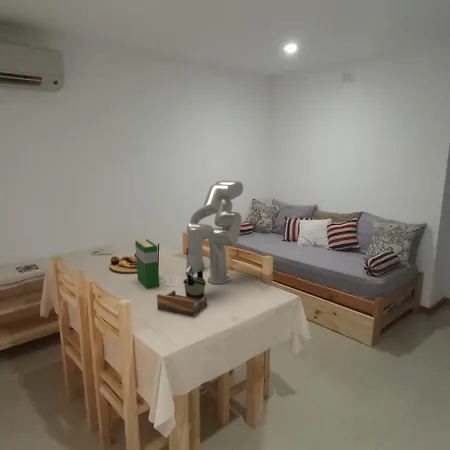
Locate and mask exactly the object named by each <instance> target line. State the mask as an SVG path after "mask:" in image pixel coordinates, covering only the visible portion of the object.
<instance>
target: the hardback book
mask: <svg viewBox="0 0 450 450" xmlns="http://www.w3.org/2000/svg"><path fill="white" fill-rule="evenodd" d="M134 243H135V253H136V260H137V273H136V274H137V275H136V276H137V281H138V282H139V283H141V286H143V287H144V288H145V289H146V290H150V289H155V288H159V287H160V274H159V273H160V271H159V264H158V263H159V255H158V253H159V251H158V245H156V244H155V243H154V242H152V241H150V240H149V239H148V238H147V239H145V240H142V241H138V240H135V242H134Z"/></svg>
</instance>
